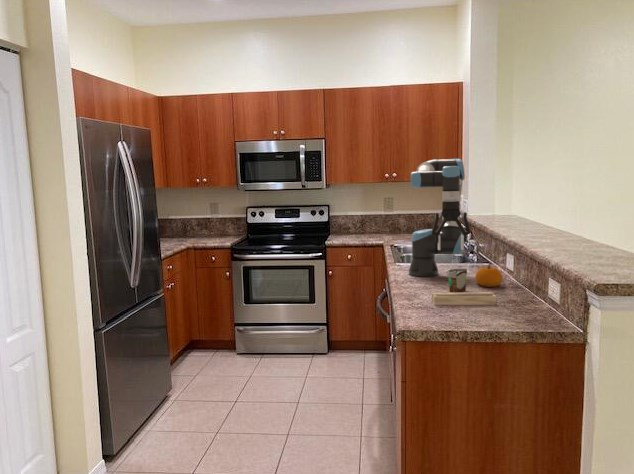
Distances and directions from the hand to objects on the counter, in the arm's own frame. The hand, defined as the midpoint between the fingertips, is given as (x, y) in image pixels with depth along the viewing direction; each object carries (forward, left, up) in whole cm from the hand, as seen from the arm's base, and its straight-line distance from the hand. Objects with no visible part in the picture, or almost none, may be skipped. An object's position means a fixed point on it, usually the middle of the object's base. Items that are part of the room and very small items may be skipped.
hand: (450, 249), depth 218 cm
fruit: (-3, +18, -18) cm, 26 cm away
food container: (+10, 0, -18) cm, 20 cm away
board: (+27, 0, -18) cm, 32 cm away
